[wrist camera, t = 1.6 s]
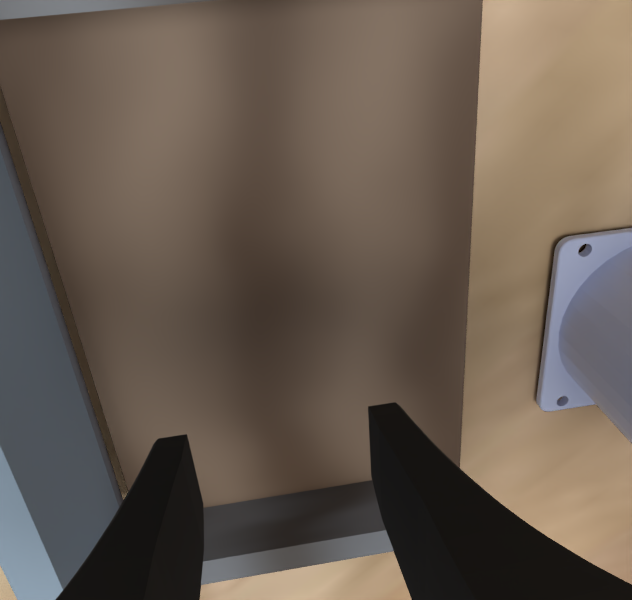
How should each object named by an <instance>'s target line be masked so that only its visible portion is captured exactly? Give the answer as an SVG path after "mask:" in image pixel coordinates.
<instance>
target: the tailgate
mask: <svg viewBox="0 0 632 600" xmlns="http://www.w3.org/2000/svg"><path fill="white" fill-rule="evenodd" d="M122 502H123V498H122V495H121V492H120V489H119V486H118V483H117V480H116V477H115V473H114V470H113V467H112V464H111V461H110V458H109V455H108V452H107V449H106V446H105V443H104V440H103V437H102V433H101V430H100V427H99V424H98V421H97V418H96V415H95V412H94V409H93V406H92V403H91V400H90V397H89V393H88V390H87V387H86V384H85V381H84V378H83V375H82V372H81V369H80V366H79V363H78V360H77V357H76V353H75V350H74V347H73V344H72V341H71V338H70V335H69V332H68V329H67V326H66V323H65V320H64V316H63V313H62V310H61V307H60V304H59V301H58V298H57V295H56V292H55V289H54V286H53V283H52V280H51V276H50V273H49V270H48V267H47V264H46V261H45V258H44V255H43V252H42V249H41V246H40V243H39V240H38V236H37V233H36V230H35V227H34V224H33V221H32V218H31V215H30V212H29V209H28V206H27V203H26V200H25V196H24V193H23V190H22V187H21V184H20V181H19V178H18V175H17V172H16V169H15V166H14V163H13V160H12V156H11V153H10V150H9V147H8V144H7V141H6V138H5V135H4V132H3V129H2V126H1V123H0V566H1V568H2V570H3V572H4V574H5V576H6V578H7V580H8V582H9V584H10V586H11V588H12V590H13V592H14V594H15V596H16V598H17V600H56V598H57V597H58V596H59V594H60V593H61V592H62V591H63V589H64V588H65V587H66V586H67V584H68V583H69V582H70V580H71V579H72V578H73V576H74V575H75V574H76V572H77V571H78V570H79V568H80V567H81V565H82V564H83V563H84V561H85V560H86V558H87V557H88V556H89V554H90V553H91V551H92V550H93V548H94V547H95V545H96V544H97V542H98V541H99V539H100V537H101V536H102V534H103V533H104V531H105V530H106V528H107V527H108V525H109V524H110V522H111V521H112V519H113V517H114V516H115V514H116V512H117V511H118V509H119V507H120V506H121V504H122Z"/></svg>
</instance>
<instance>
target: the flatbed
mask: <svg viewBox="0 0 632 600" xmlns="http://www.w3.org/2000/svg"><path fill="white" fill-rule="evenodd" d="M482 3H483V0H0V87H1V90H2V93H3V96H4V99H5V102H6V106H7V109H8V112H9V115H10V118H11V121H12V125H13V128H14V131H15V134H16V137H17V140H18V144H19V147H20V150H21V153H22V156H23V159H24V163H25V166H26V169H27V172H28V175H29V178H30V182H31V185H32V188H33V191H34V194H35V197H36V201H37V204H38V207H39V210H40V213H41V216H42V220H43V223H44V226H45V229H46V232H47V235H48V239H49V242H50V245H51V248H52V251H53V254H54V258H55V261H56V264H57V267H58V270H59V273H60V277H61V280H62V283H63V286H64V289H65V292H66V296H67V299H68V302H69V305H70V308H71V311H72V315H73V318H74V321H75V324H76V327H77V330H78V334H79V337H80V340H81V343H82V346H83V349H84V353H85V356H86V359H87V362H88V365H89V368H90V372H91V375H92V378H93V381H94V384H95V387H96V391H97V394H98V397H99V400H100V403H101V406H102V410H103V413H104V416H105V419H106V422H107V425H108V428H109V432H110V435H111V438H112V441H113V444H114V447H115V451H116V454H117V457H118V460H119V463H120V466H121V470H122V473H123V476H124V479H125V482H126V485H127V489H128V492H129V490H130V489H131V487H132V485H133V483H134V481H135V479H136V478H137V476H138V474H139V472H140V470H141V468H142V466H143V464H144V462H145V460H146V458H147V456H148V454H149V452H150V450H151V448H152V446H153V444H154V443H155V442H156V440H157V439H158V438H165V437H171V436H178V435H184V434H187V437H188V441H189V445H190V449H191V453H192V458H193V462H194V466H195V470H196V475H197V479H198V483H199V487H200V492H201V496H202V500H203V511H204V556H203V567H202V578H201V585H203V584H209V583H215V582H220V581H226V580H232V579H238V578H243V577H249V576H255V575H260V574H266V573H272V572H277V571H283V570H289V569H295V568H300V567H306V566H312V565H317V564H323V563H329V562H334V561H340V560H346V559H352V558H357V557H363V556H369V555H374V554H380V553H386V552H391V551H394V550H393V548H392V545H391V542H390V539H389V537H388V534H387V531H386V529H385V526H384V523H383V520H382V517H381V513H380V509H379V506H378V502H377V498H376V494H375V489H374V485H373V481H372V477H371V461H370V439H369V418H368V406H374V405H380V404H387V403H393V402H396V403H397V404H398V405H400V406H401V407H402V409H403V410H404V411H405V412H406V413H407V414H408V416H409V417H410V418H411V419H412V420H413V421H414V422H415V424H416V425H417V426H418V427H419V428H420V429H421V430H422V431H423V432H424V433H425V434H426V435H427V437H428V438H429V439H430V440H431V441H432V442H433V443H434V444H435V445H436V446H437V447H438V448H439V449H440V450H441V451H442V452H443V453H444V454H445V455H446V456H447V457H448V458H449V459H450V460H451V461H453V462H454V463H455V464H456V465H457V466H458V467H459V468H460V449H461V429H462V409H463V389H464V368H465V348H466V328H467V307H468V287H469V267H470V246H471V226H472V206H473V186H474V165H475V145H476V125H477V104H478V84H479V64H480V43H481V23H482Z"/></svg>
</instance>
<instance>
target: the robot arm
mask: <svg viewBox="0 0 632 600" xmlns="http://www.w3.org/2000/svg"><path fill="white" fill-rule="evenodd" d="M584 244H586V247H585V249H584V250H583V251H582V252H579V253H578V251H579V248H580V247H581V246H582V245H584ZM562 396H563V397H562ZM560 397H562V398H561V399H560V400H558V399H559V398H560ZM536 401H537V404H538V405H539V407H540V408H541V409H542V410H543V411H549V412H550V411H556V410H562V409H569V408H575V407H581V406H588V405H594V404H596V405H597V406H598V407H599V408H600V409H601V410H602V411H603V412H604V414H605V415H606V416H607V417H608V418H609V419H610V420H611V421H612V422H613V423H614V425H615V426H616V427H617V428H618V429H619V430H620V431H621V432H622V433H623V435H624V436H625V437H626V438H627V439H628V440H629V441H630V442H631V443H632V228H627V229H619V230H612V231H604V232H596V233H589V234H581V235H574V236H568V237H565V238H563V239H562V240H560V241H559V242H558V244H557V245H556V248H555V252H554V260H553V269H552V277H551V285H550V293H549V301H548V309H547V317H546V325H545V334H544V342H543V350H542V358H541V366H540V374H539V382H538V390H537V399H536ZM368 418H369V439H370V461H371V477H372V481H373V485H374V489H375V494H376V498H377V502H378V506H379V509H380V513H381V517H382V520H383V523H384V526H385V529H386V531H387V534H388V537H389V539H390V542H391V545H392V548H393V550H394V553H395V556H396V558H397V561H398V564H399V566H400V569H401V572H402V574H403V577H404V580H405V582H406V585H407V588H408V590H409V593H410V596H411V598H412V600H632V585H631V584H629V583H627V582H625V581H623V580H622V579H620V578H618V577H616V576H614V575H612V574H610V573H608V572H606V571H605V570H603V569H601V568H599V567H597V566H595V565H593V564H592V563H590V562H588V561H586V560H585V559H583V558H581V557H580V556H578V555H576V554H575V553H573V552H571V551H570V550H568V549H566V548H565V547H563V546H562V545H560V544H558V543H557V542H555V541H553V540H552V539H550V538H548V537H547V536H545V535H544V534H542V533H541V532H539V531H538V530H536V529H535V528H534V527H532V526H531V525H529V524H528V523H526V522H525V521H523V520H522V519H521V518H519V517H518V516H517V515H515V514H514V513H513V512H511V511H510V510H509V509H507V508H506V507H505V506H503V505H502V504H501V503H500V502H498V501H497V500H496V499H495V498H493V497H492V496H491V495H490V494H488V493H487V492H486V491H485V490H484V489H483V488H481V487H480V486H479V485H478V484H477V483H476V482H474V481H473V480H472V479H471V478H470V477H469V476H468V475H466V474H465V473H464V472H463V471H462V470H461V469H460V468H459V467H458V466H457V465H456V464H455V463H454V462H453V461H451V460H450V459H449V458H448V457H447V456H446V455H445V454H444V453H443V452H442V451H441V450H440V449H439V448H438V447H437V446H436V445H435V444H434V443H433V442H432V441H431V440H430V439H429V438H428V437H427V435H426V434H425V433H424V432H423V431H422V430H421V429H420V428H419V427H418V426H417V425H416V424H415V422H414V421H413V420H412V419H411V418H410V417H409V416H408V414H407V413H406V412H405V411H404V410H403V409H402V407H401V406H400V405H398V404H397V403H396V402H393V403H387V404H380V405H374V406H368ZM203 556H204V511H203V500H202V496H201V492H200V487H199V483H198V479H197V475H196V470H195V466H194V462H193V458H192V453H191V449H190V445H189V441H188V437H187V434H184V435H178V436H171V437H165V438H158V439H157V440H156V442H155V443H154V444H153V446H152V448H151V450H150V452H149V454H148V456H147V458H146V460H145V462H144V464H143V466H142V468H141V470H140V472H139V474H138V476H137V478H136V479H135V481H134V483H133V485H132V487H131V489H130V490H129V492H128V494H127V495H126V497H125V499H124V500H123V502H122V504H121V506H120V507H119V509H118V511H117V512H116V514H115V516H114V517H113V519H112V521H111V522H110V524H109V525H108V527H107V528H106V530H105V531H104V533H103V534H102V536H101V537H100V539H99V541H98V542H97V544H96V545H95V547H94V548H93V550H92V551H91V553H90V554H89V556H88V557H87V558H86V560H85V561H84V563H83V564H82V565H81V567H80V568H79V570H78V571H77V572H76V574H75V575H74V576H73V578H72V579H71V580H70V582H69V583H68V584H67V586H66V587H65V588H64V589H63V591H62V592H61V593H60V594H59V596H58V597H57V598H56V600H199V599H200V589H201V578H202V567H203Z"/></svg>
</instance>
